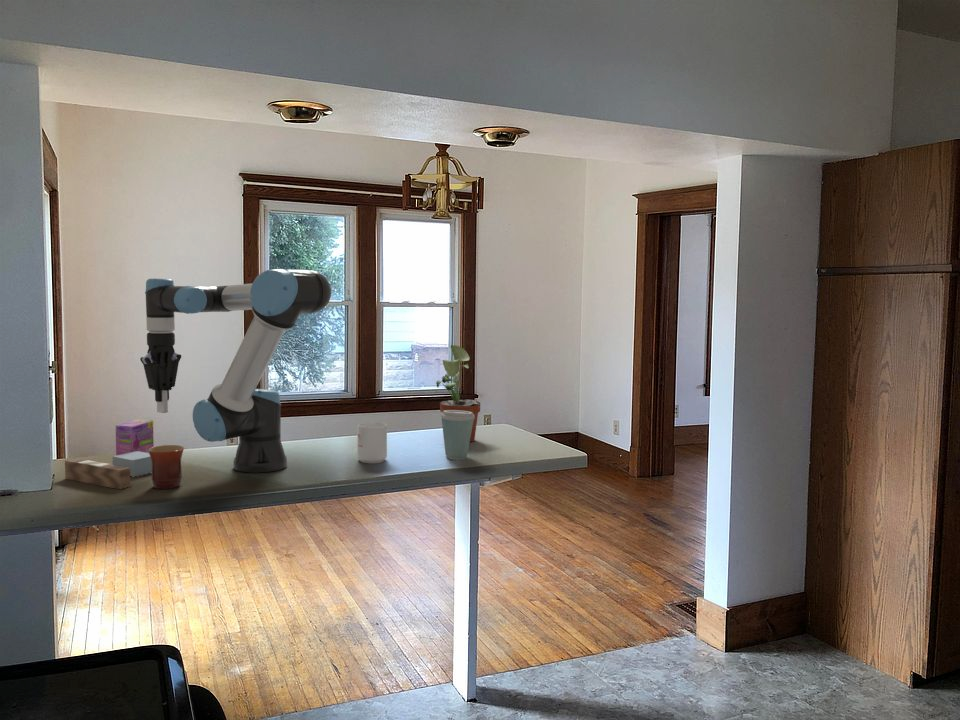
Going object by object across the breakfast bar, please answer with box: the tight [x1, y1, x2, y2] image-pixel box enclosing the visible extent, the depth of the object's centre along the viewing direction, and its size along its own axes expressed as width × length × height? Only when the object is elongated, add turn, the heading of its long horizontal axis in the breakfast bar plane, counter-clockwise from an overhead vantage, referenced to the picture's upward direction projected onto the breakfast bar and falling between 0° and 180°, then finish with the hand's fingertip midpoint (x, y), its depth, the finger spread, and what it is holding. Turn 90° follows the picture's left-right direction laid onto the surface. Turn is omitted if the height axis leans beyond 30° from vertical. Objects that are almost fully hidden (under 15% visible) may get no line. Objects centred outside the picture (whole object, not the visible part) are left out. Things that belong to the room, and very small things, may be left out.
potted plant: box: [435, 344, 481, 443], centre depth 268 cm, size 16×15×35 cm
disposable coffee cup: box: [440, 410, 475, 461], centre depth 243 cm, size 11×11×15 cm
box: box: [115, 419, 155, 456], centre depth 233 cm, size 10×6×12 cm, turn 168°
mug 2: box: [357, 421, 388, 464], centre depth 239 cm, size 12×9×11 cm
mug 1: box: [148, 444, 185, 490], centre depth 207 cm, size 12×9×10 cm
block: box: [112, 451, 152, 478], centre depth 220 cm, size 9×8×5 cm
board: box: [64, 458, 131, 490], centre depth 208 cm, size 22×3×5 cm, turn 63°
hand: (162, 412), depth 228 cm, fingers closed
